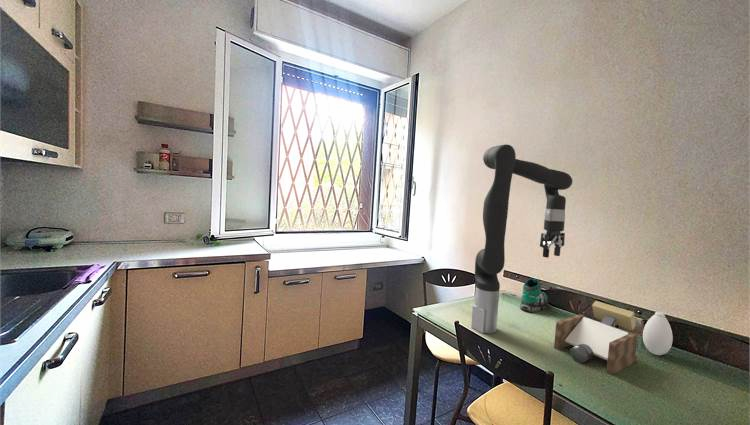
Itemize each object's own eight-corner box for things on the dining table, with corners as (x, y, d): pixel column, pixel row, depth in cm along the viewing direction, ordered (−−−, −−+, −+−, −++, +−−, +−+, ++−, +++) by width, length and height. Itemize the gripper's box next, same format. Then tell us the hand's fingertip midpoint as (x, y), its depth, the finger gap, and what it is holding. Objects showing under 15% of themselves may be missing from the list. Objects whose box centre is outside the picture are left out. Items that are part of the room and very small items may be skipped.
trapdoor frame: (611, 375, 93) (614, 344, 92) (554, 347, 109) (556, 321, 108) (637, 360, 102) (640, 332, 102) (580, 337, 118) (583, 313, 117)
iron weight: (592, 362, 100) (585, 365, 98) (576, 354, 104) (569, 357, 102) (594, 348, 100) (586, 351, 97) (578, 341, 104) (570, 344, 102)
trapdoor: (611, 367, 97) (609, 354, 95) (565, 346, 109) (563, 334, 107) (640, 326, 106) (638, 313, 104) (594, 311, 118) (592, 299, 116)
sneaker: (553, 304, 154) (555, 276, 153) (532, 314, 139) (535, 284, 138) (535, 299, 161) (537, 272, 160) (513, 308, 146) (515, 278, 145)
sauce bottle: (671, 355, 107) (677, 307, 106) (669, 362, 102) (675, 312, 101) (642, 345, 113) (647, 300, 112) (639, 352, 108) (644, 305, 107)
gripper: (554, 218, 133) (551, 253, 135) (536, 218, 126) (533, 255, 128) (572, 220, 127) (569, 257, 128) (554, 220, 120) (550, 259, 121)
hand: (551, 256), depth 128 cm, fingers open, 8 cm apart
